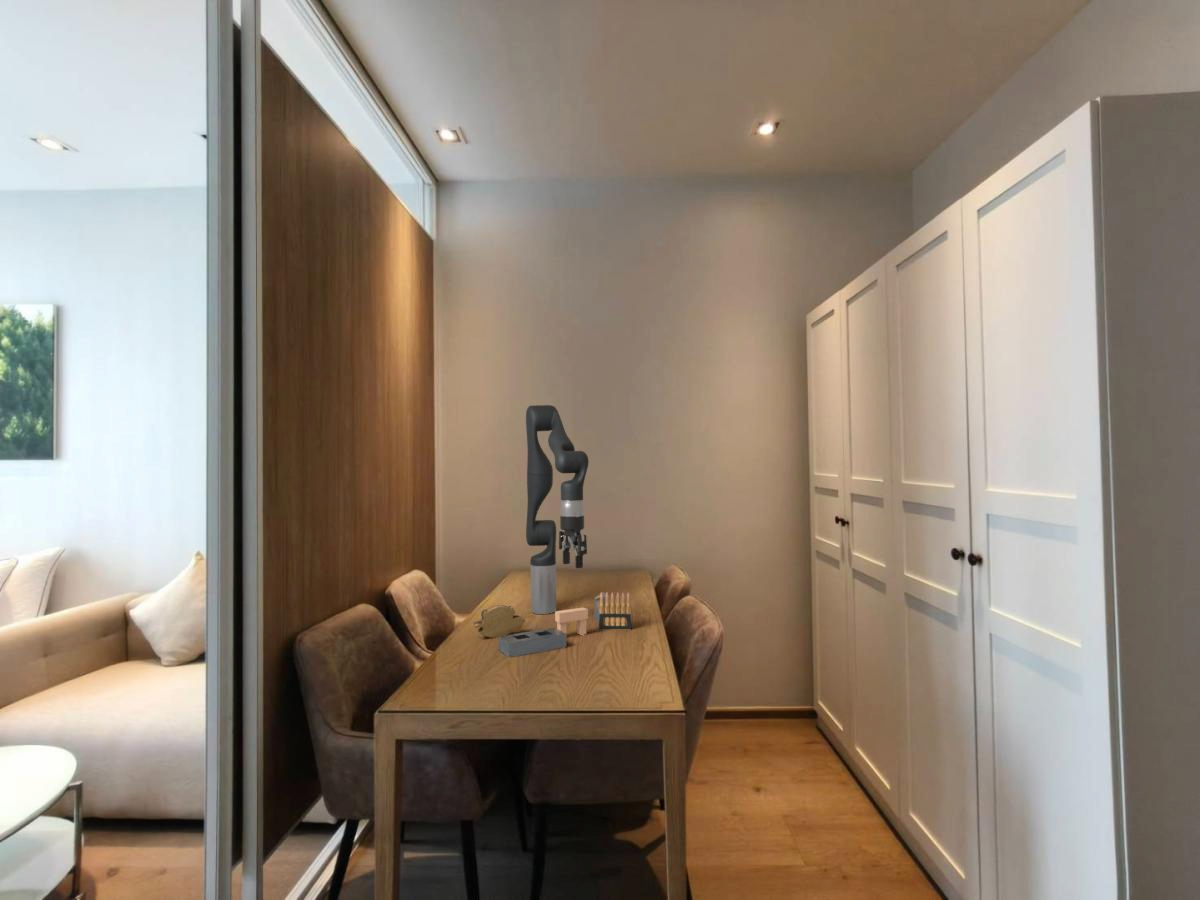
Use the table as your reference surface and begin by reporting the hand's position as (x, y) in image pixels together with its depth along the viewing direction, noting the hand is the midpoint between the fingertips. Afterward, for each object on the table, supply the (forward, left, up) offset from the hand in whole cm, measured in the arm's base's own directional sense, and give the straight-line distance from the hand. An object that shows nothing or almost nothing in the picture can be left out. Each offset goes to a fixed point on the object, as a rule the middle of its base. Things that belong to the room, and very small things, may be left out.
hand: (572, 565), depth 201 cm
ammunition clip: (0, +15, -22) cm, 27 cm away
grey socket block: (+6, -17, -22) cm, 28 cm away
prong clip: (0, -1, -22) cm, 22 cm away
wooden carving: (-12, -20, -22) cm, 32 cm away
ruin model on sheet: (-16, +19, -23) cm, 34 cm away
